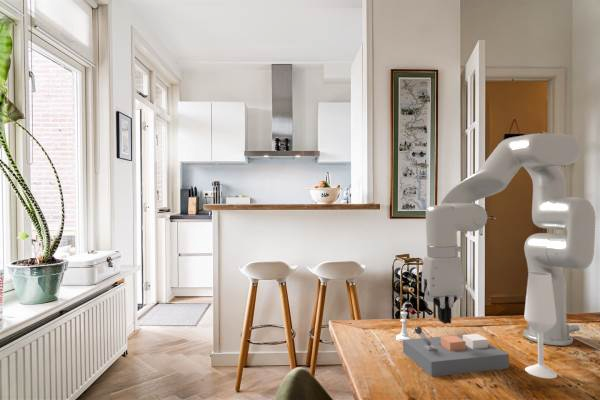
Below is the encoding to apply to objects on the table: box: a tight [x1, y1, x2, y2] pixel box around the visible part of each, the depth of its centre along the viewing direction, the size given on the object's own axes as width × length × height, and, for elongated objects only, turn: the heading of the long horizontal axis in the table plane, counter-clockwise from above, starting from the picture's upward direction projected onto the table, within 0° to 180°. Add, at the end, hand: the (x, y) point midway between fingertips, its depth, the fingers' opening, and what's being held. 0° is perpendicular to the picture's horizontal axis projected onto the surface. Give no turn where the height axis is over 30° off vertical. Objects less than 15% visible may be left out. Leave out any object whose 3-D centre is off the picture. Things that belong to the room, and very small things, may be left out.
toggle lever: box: [414, 326, 431, 346], centre depth 100 cm, size 2×2×6 cm
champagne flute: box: [523, 272, 558, 379], centre depth 94 cm, size 7×7×24 cm
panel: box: [402, 333, 510, 377], centre depth 102 cm, size 21×15×4 cm
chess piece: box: [395, 305, 413, 343], centre depth 117 cm, size 5×5×10 cm
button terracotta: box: [440, 335, 466, 351], centre depth 102 cm, size 4×4×2 cm
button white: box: [462, 333, 489, 349], centre depth 103 cm, size 4×4×2 cm
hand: (444, 321), depth 102 cm, fingers closed
